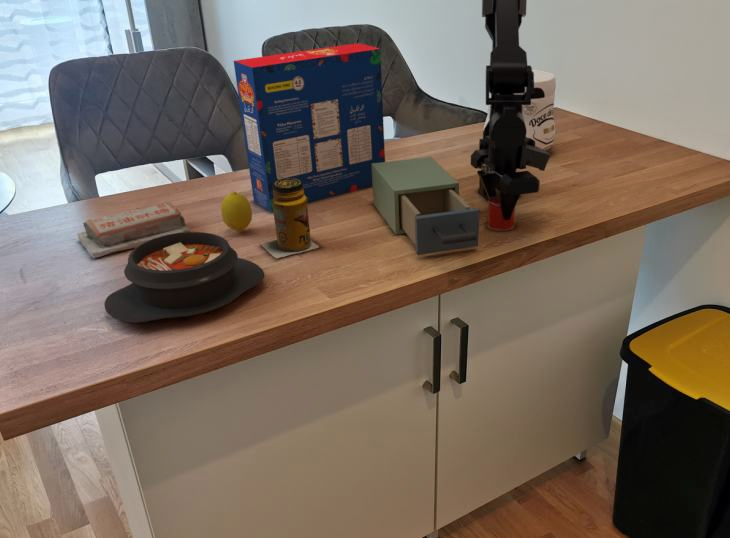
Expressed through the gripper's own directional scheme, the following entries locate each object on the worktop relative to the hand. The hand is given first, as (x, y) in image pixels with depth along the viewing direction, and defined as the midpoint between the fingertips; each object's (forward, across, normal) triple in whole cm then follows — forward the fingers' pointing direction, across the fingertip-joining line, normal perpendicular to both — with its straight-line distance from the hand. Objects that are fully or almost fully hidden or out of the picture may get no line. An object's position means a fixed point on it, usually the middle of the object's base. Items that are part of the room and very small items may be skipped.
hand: (501, 214), depth 138 cm
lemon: (+2, +14, +48) cm, 50 cm away
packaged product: (+2, +18, +67) cm, 69 cm away
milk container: (+2, +41, -22) cm, 47 cm away
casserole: (+2, -10, +58) cm, 59 cm away
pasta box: (+2, +30, +29) cm, 42 cm away
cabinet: (+2, +11, +14) cm, 18 cm away
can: (+2, 0, 0) cm, 2 cm away
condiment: (+2, +4, +40) cm, 40 cm away
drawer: (+1, -4, +14) cm, 15 cm away
